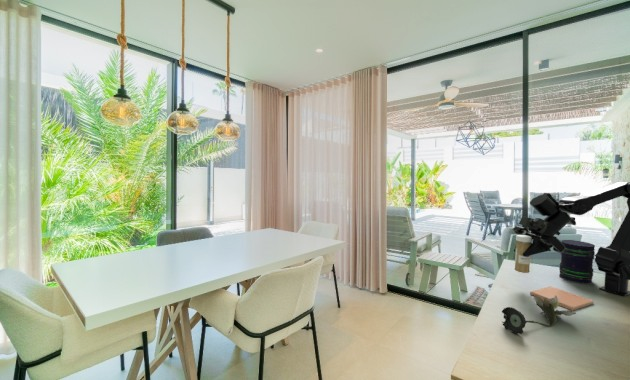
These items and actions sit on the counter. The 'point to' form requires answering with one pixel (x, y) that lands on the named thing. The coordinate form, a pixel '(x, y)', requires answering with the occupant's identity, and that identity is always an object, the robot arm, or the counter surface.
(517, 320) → the artificial flower
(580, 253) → the storage jar
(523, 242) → the sprinkles bottle
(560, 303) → the terracotta tile
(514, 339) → the counter surface
